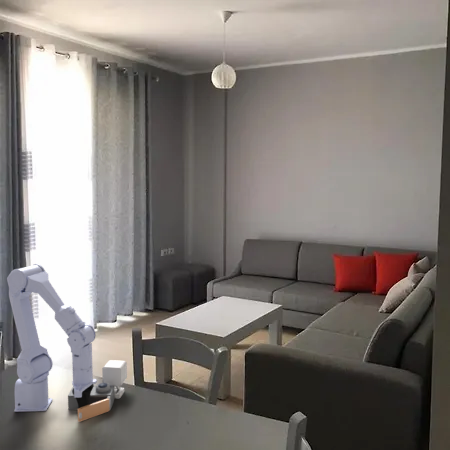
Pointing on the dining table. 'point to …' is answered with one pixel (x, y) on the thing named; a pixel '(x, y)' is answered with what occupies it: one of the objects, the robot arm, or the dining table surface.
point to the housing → (93, 395)
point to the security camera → (115, 375)
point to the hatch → (94, 409)
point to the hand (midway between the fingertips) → (83, 410)
